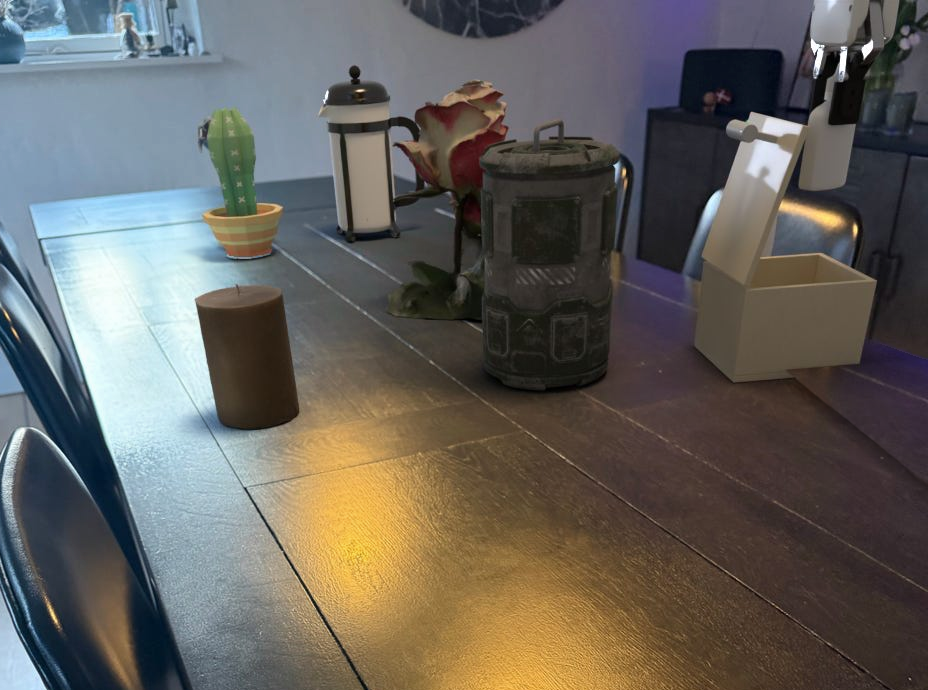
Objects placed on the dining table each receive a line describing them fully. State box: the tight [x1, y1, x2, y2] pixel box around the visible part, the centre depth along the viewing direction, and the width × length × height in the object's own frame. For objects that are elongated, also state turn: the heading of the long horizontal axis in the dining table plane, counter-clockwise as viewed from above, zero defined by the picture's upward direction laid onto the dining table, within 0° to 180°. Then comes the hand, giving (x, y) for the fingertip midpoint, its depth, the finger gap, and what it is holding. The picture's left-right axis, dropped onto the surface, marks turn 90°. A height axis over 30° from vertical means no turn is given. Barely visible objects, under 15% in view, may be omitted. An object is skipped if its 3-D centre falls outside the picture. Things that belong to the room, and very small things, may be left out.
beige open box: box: [693, 252, 878, 383], centre depth 115 cm, size 16×15×11 cm
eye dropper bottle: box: [798, 63, 857, 192], centre depth 102 cm, size 4×6×12 cm
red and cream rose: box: [367, 79, 510, 321], centre depth 139 cm, size 26×29×30 cm
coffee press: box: [317, 64, 426, 243], centre depth 184 cm, size 17×16×30 cm
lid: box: [700, 111, 810, 287], centre depth 107 cm, size 16×15×5 cm
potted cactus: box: [195, 107, 284, 257], centre depth 175 cm, size 15×15×25 cm
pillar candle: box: [194, 283, 300, 430], centre depth 106 cm, size 10×10×15 cm
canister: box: [479, 118, 621, 392], centre depth 110 cm, size 16×16×28 cm
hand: (832, 120), depth 101 cm, fingers closed on eye dropper bottle, 4 cm apart
